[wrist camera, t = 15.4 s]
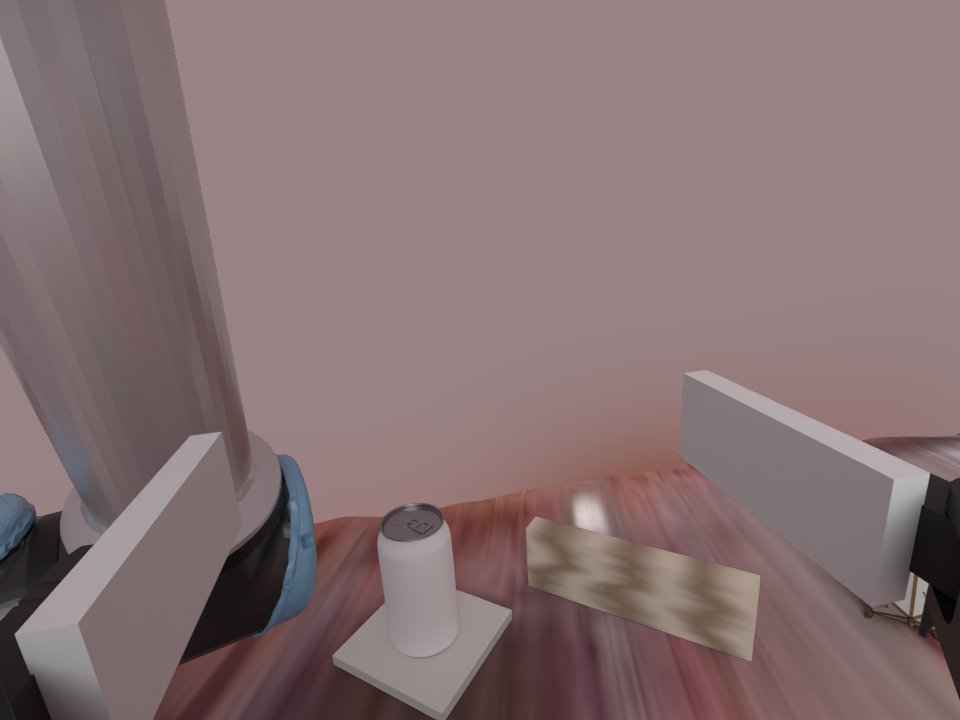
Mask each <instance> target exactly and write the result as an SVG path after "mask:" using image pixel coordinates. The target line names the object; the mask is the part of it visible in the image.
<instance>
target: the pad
mask: <svg viewBox="0 0 960 720" xmlns="http://www.w3.org/2000/svg"><path fill="white" fill-rule="evenodd" d="M456 594H457V605H458V616H459V630H458V634H457V636H456V638H455V639H454V641H453V642H452V643H451V644H450V645H449V646H448V647H447V648H446V649H445V650H444V651H442V652H441V653H439V654H437V655H434V656H431V657H427V658H413V657H409V656H407V655H405V654H402V653H401V652H399V651H398V650H397V649H396V648H395V647H394V645H393V644H392V641H391V638H390V632H389V626H388V619H387V612H386V605H385V603H384V604H383V605H382V606H381V607H380V608H379V609H378V610H377V611H376V612H375V613H374V614H373V615H372V616H371V617H370V618H369V619H368V620H367V621H366V622H365V623H364V624H363V625H362V626H361V627H360V628H359V629H358V630H357V631H356V632H355V633H354V634H353V635H352V636H351V637H350V638H349V639H348V640H347V641H346V642H345V643H344V644H343V645H342V646H341V647H340V648H339V649H338V650H337V651H336V652H335V653H334V654H333V655H332V657H333V663H334V665H336V666H337V667H339V668H341V669H343V670H345V671H347V672H349V673H350V674H352V675H354V676H356V677H358V678H360V679H362V680H363V681H365V682H367V683H369V684H371V685H373V686H375V687H376V688H378V689H380V690H382V691H384V692H386V693H388V694H389V695H391V696H393V697H395V698H397V699H399V700H401V701H402V702H404V703H406V704H408V705H410V706H412V707H414V708H415V709H417V710H419V711H421V712H423V713H425V714H427V715H428V716H430V717H432V718H434V719H436V720H446V719H447V717H448V716H449V714H450V713H451V711H452V710H453V708H454V706H455V705H456V703H457V702H458V700H459V699H460V697H461V696H462V694H463V693H464V691H465V690H466V688H467V687H468V685H469V684H470V682H471V681H472V679H473V678H474V676H475V675H476V673H477V671H478V670H479V668H480V667H481V665H482V664H483V662H484V661H485V659H486V658H487V656H488V655H489V653H490V652H491V650H492V649H493V647H494V646H495V644H496V643H497V641H498V640H499V638H500V636H501V635H502V633H503V632H504V630H505V629H506V627H507V626H508V624H509V623H510V621H511V620H512V610H510V609H507V608H505V607H502V606H499V605H497V604H494V603H491V602H489V601H486V600H483V599H480V598H478V597H475V596H472V595H470V594H467V593H464V592H462V591H459V590H456Z"/></svg>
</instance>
